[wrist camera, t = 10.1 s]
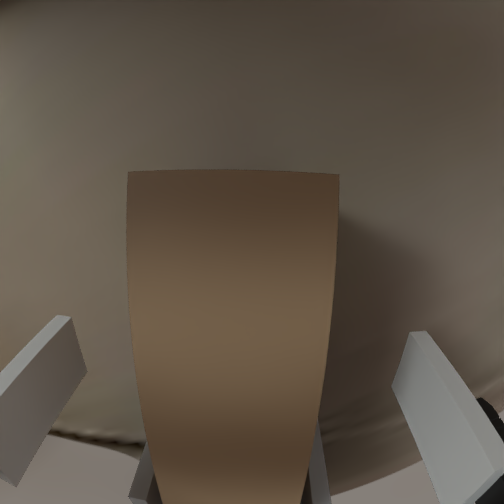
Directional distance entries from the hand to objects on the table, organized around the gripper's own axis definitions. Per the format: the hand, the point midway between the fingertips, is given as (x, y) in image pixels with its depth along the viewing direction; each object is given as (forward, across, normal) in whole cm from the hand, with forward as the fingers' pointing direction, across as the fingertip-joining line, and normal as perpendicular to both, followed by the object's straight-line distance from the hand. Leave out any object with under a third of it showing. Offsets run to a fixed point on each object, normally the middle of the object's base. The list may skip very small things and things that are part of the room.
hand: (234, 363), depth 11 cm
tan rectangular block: (+1, 0, -1) cm, 2 cm away
